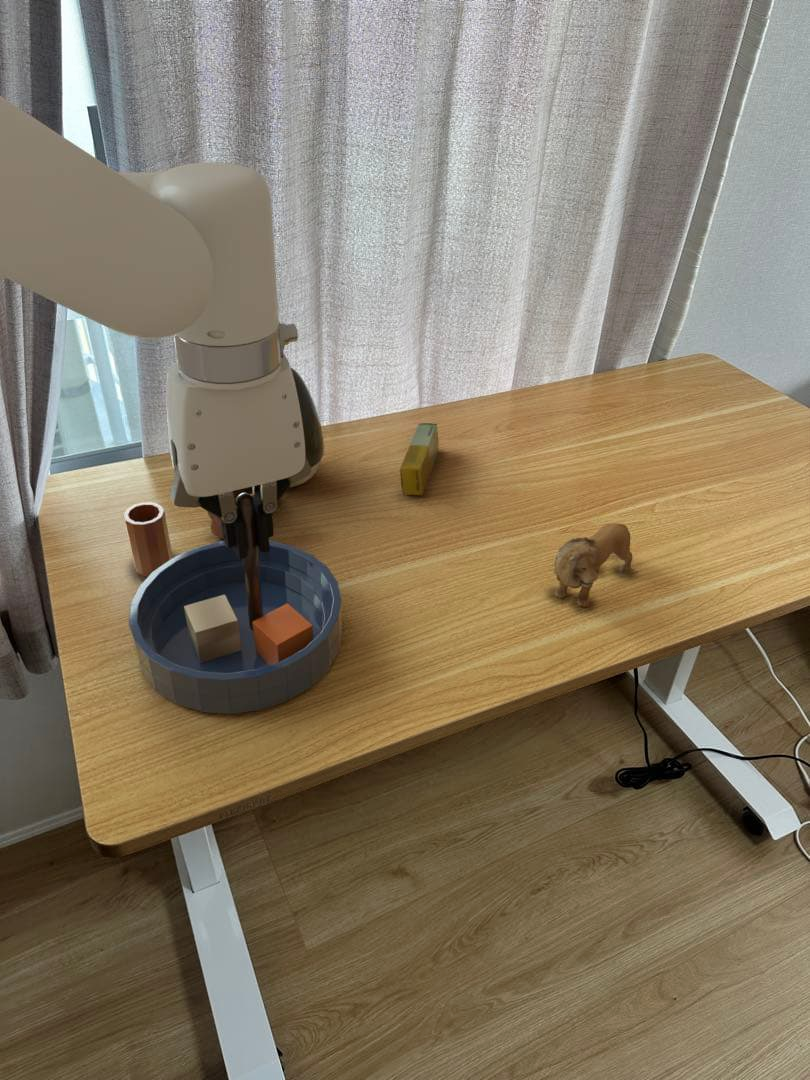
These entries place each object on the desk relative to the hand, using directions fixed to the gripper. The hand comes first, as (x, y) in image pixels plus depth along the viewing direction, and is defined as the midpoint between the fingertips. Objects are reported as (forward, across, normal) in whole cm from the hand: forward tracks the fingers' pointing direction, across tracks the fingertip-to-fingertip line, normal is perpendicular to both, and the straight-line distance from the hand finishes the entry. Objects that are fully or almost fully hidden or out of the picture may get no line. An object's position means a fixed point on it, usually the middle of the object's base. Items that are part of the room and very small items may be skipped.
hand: (249, 545), depth 70 cm
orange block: (+12, -2, +2) cm, 13 cm away
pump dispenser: (+13, -13, -28) cm, 34 cm away
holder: (+13, +6, -17) cm, 22 cm away
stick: (+11, 0, 0) cm, 11 cm away
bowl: (+13, +1, -2) cm, 13 cm away
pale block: (+12, +4, -2) cm, 13 cm away
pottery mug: (+13, -5, -22) cm, 26 cm away
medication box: (+13, -29, -22) cm, 39 cm away
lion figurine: (+13, -35, +6) cm, 38 cm away
